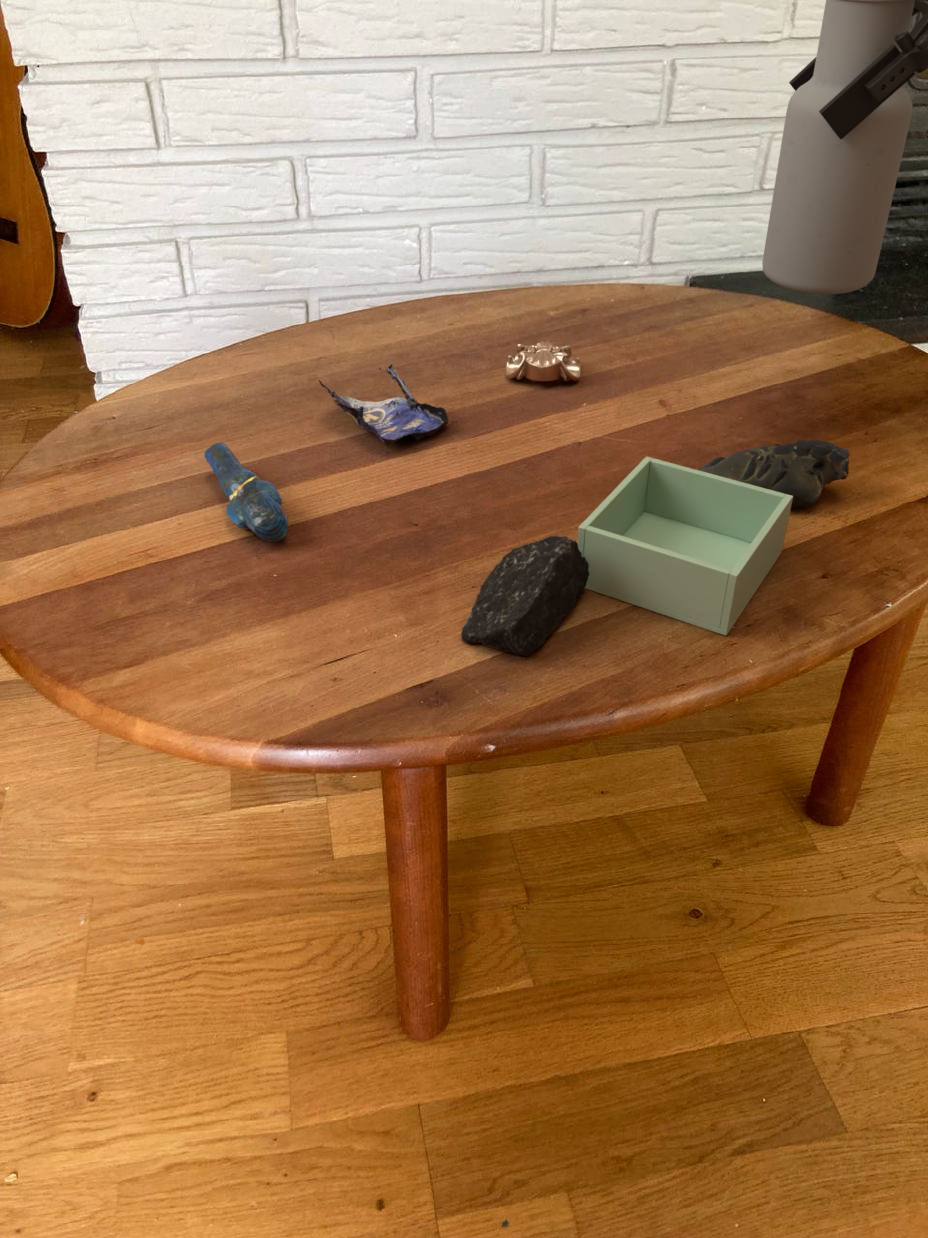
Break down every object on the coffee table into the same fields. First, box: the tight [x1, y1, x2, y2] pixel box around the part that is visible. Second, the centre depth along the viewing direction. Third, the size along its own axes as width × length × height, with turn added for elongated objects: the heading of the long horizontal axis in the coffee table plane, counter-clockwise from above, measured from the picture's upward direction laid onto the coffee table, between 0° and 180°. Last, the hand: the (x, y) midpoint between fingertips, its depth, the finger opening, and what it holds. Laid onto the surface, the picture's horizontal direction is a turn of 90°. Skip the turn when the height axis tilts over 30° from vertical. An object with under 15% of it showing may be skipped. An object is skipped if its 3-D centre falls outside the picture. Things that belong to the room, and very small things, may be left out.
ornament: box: [505, 340, 581, 382], centre depth 111 cm, size 8×7×4 cm
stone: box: [698, 439, 851, 509], centre depth 91 cm, size 7×13×5 cm, turn 85°
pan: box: [577, 456, 793, 637], centre depth 82 cm, size 13×13×6 cm
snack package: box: [318, 363, 449, 454], centre depth 102 cm, size 12×6×12 cm
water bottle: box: [761, 0, 928, 296], centre depth 85 cm, size 10×10×28 cm
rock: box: [460, 535, 589, 657], centre depth 78 cm, size 7×10×6 cm
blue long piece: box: [203, 442, 289, 543], centre depth 91 cm, size 5×4×15 cm
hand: (813, 109), depth 85 cm, fingers closed on water bottle, 10 cm apart
